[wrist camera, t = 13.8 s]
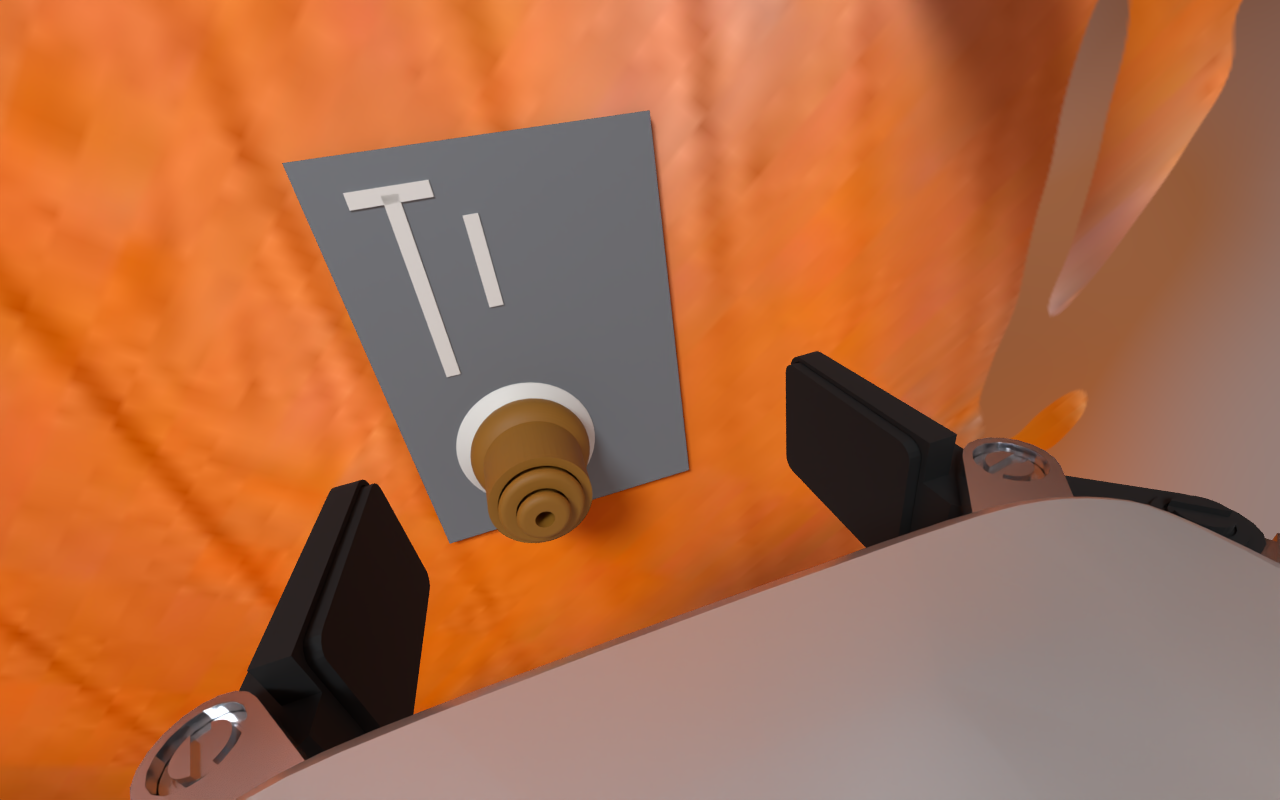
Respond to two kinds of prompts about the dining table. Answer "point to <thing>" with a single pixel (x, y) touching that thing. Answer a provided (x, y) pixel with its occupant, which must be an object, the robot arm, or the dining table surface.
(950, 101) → the dining table surface
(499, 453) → the ornamental finial
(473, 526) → the slate board
